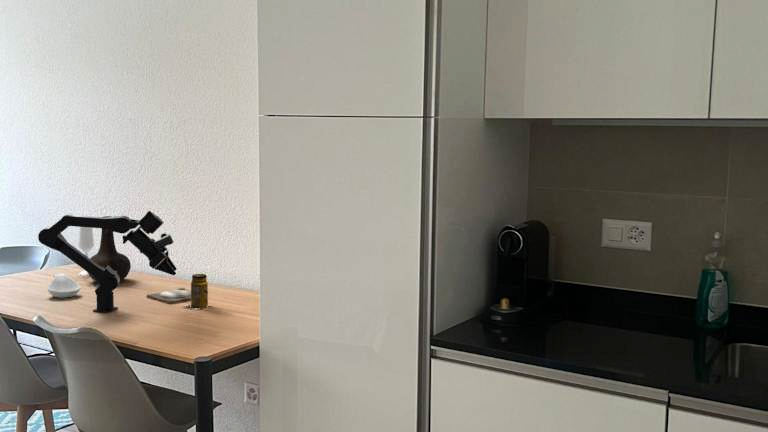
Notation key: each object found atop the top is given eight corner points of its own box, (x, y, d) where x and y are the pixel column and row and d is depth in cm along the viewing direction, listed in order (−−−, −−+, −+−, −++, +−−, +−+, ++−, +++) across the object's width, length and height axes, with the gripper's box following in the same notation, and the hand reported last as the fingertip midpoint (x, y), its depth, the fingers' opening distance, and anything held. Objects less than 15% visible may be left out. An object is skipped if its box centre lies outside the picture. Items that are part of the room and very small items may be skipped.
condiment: (212, 306, 282) (212, 274, 280) (197, 310, 274) (196, 278, 273) (198, 303, 285) (197, 272, 284) (182, 308, 278) (181, 276, 276)
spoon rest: (83, 298, 291) (83, 280, 290) (50, 301, 285) (50, 283, 284) (72, 287, 311) (72, 270, 310) (41, 289, 305) (41, 272, 304)
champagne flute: (85, 275, 334) (84, 221, 331) (75, 273, 337) (74, 220, 335) (98, 273, 340) (96, 220, 337) (88, 271, 343) (86, 219, 340)
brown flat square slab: (169, 304, 283) (169, 299, 283) (146, 297, 293) (146, 292, 293) (205, 297, 295) (205, 292, 295) (181, 291, 306) (181, 286, 305)
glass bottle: (113, 287, 311) (111, 219, 308) (77, 283, 317) (75, 217, 313) (139, 279, 328) (138, 215, 325) (105, 276, 334) (103, 213, 330)
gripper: (158, 230, 264) (191, 260, 268) (160, 223, 282) (191, 252, 286) (135, 253, 263) (168, 283, 267) (139, 245, 281) (170, 273, 285)
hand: (175, 272), depth 276 cm, fingers open, 9 cm apart
